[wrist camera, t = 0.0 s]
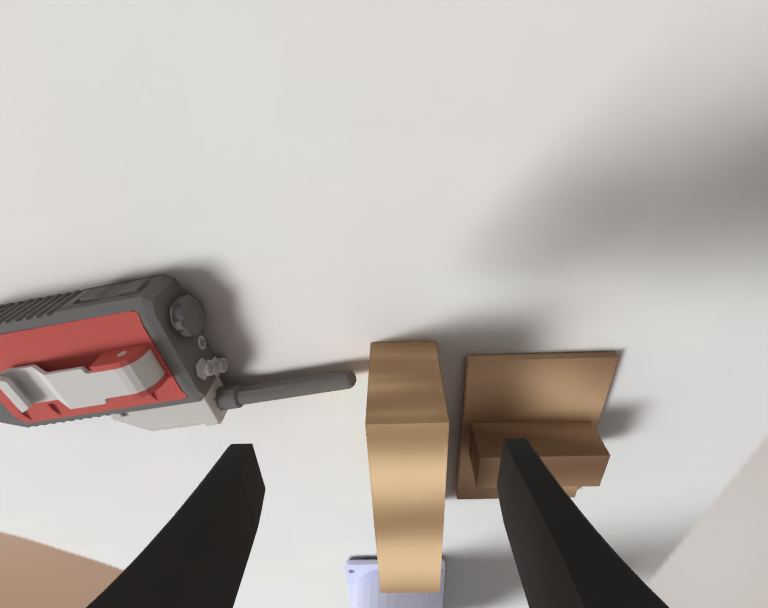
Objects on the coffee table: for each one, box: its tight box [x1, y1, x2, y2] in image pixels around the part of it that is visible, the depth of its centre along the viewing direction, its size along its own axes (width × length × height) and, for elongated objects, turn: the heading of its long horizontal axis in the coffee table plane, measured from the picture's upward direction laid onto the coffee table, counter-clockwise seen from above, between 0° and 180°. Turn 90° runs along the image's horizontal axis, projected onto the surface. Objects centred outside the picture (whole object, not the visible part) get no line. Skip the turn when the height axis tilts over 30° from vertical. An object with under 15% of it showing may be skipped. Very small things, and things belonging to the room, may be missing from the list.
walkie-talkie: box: [0, 275, 356, 431], centre depth 21 cm, size 9×4×20 cm
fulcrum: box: [456, 352, 619, 499], centre depth 24 cm, size 12×8×3 cm, turn 2°
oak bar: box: [365, 341, 449, 593], centre depth 23 cm, size 14×4×6 cm, turn 2°
